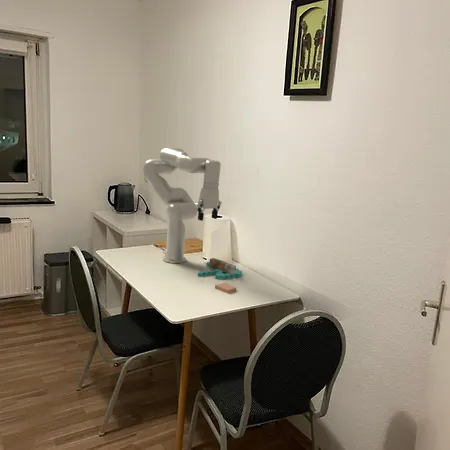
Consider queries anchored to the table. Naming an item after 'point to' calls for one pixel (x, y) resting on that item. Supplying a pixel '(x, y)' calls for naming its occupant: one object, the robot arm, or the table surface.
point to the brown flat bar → (222, 266)
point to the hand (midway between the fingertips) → (207, 219)
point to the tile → (225, 287)
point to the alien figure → (220, 273)
